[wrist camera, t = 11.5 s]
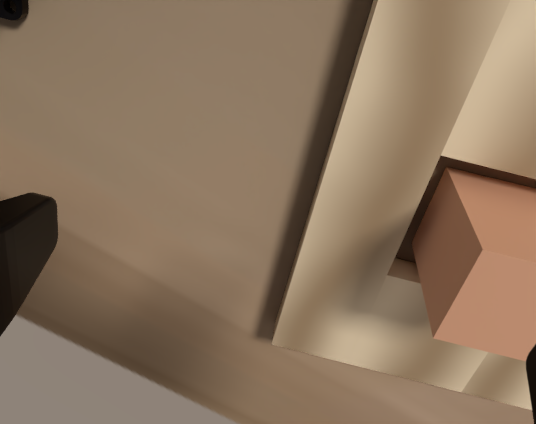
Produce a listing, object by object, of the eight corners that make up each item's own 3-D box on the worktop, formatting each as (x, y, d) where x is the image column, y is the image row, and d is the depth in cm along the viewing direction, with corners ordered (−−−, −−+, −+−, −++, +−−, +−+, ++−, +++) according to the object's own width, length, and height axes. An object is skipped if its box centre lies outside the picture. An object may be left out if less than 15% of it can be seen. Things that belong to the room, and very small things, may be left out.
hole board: (275, 323, 25) (271, 344, 24) (388, -50, 16) (392, -48, 15) (527, 387, 25) (537, 411, 24) (791, 51, 16) (831, 61, 15)
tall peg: (411, 242, 22) (432, 338, 17) (446, 166, 20) (482, 249, 15) (495, 263, 22) (543, 365, 17) (539, 189, 20) (609, 280, 15)
